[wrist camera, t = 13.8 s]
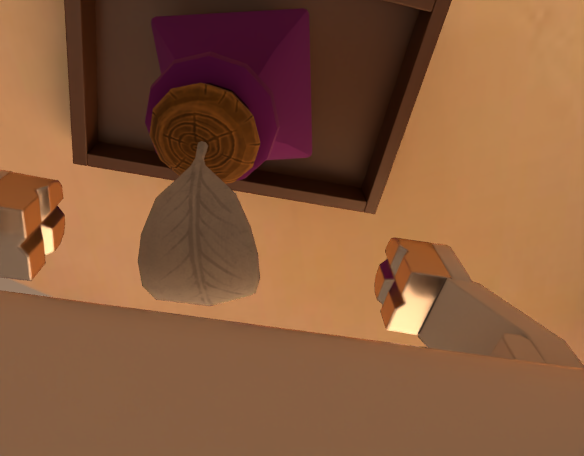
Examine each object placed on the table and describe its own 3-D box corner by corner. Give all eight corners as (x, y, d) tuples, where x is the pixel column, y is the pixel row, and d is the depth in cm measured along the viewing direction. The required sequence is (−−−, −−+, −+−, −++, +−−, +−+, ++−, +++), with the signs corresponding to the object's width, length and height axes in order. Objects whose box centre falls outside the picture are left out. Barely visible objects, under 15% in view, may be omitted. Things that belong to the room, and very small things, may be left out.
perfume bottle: (164, 10, 23) (-55, 102, 7) (304, 2, 23) (375, 77, 8) (188, 144, 27) (78, 386, 11) (308, 137, 27) (359, 366, 11)
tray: (436, -5, 23) (452, -2, 21) (367, 196, 30) (375, 214, 28) (79, -95, 21) (57, -102, 19) (88, 148, 27) (72, 163, 25)
